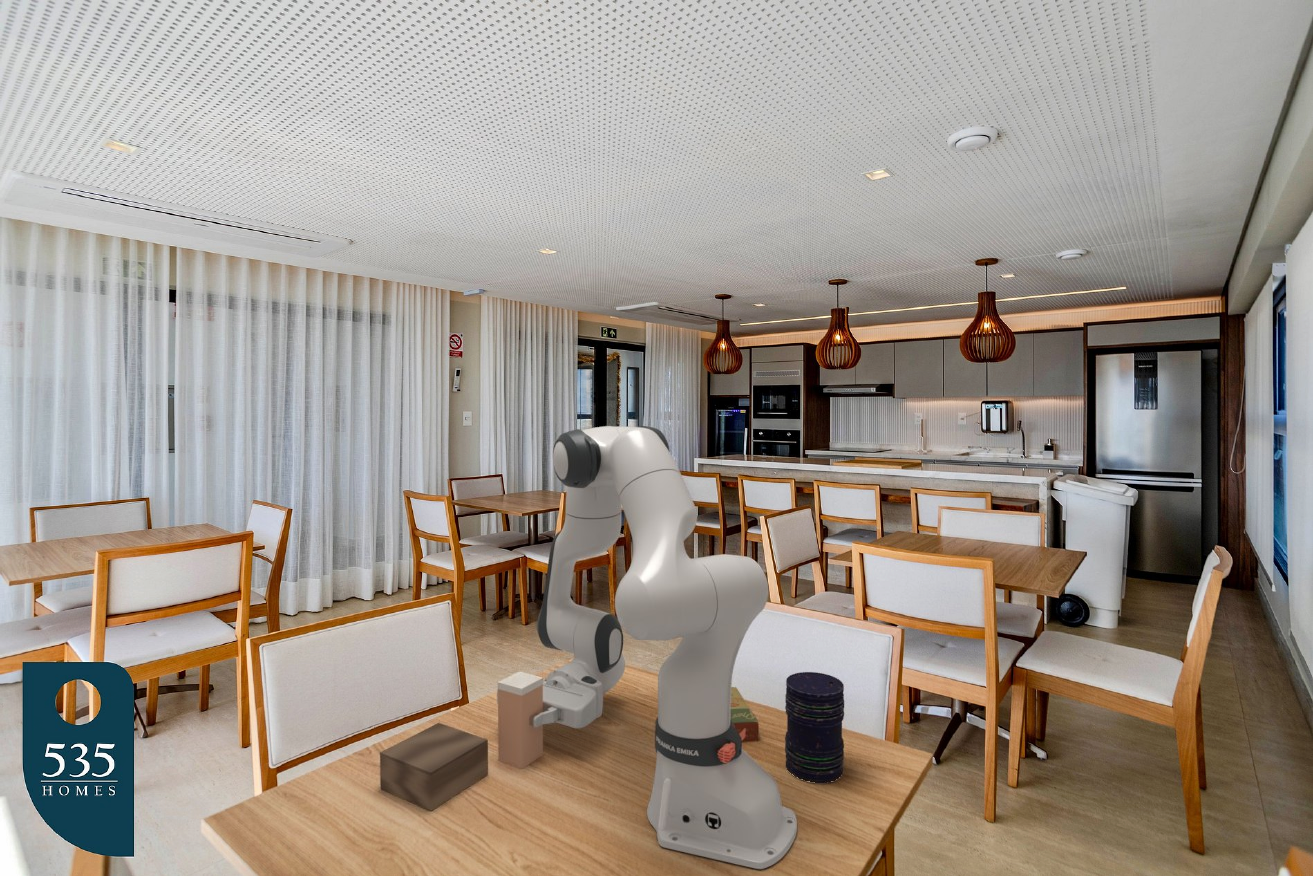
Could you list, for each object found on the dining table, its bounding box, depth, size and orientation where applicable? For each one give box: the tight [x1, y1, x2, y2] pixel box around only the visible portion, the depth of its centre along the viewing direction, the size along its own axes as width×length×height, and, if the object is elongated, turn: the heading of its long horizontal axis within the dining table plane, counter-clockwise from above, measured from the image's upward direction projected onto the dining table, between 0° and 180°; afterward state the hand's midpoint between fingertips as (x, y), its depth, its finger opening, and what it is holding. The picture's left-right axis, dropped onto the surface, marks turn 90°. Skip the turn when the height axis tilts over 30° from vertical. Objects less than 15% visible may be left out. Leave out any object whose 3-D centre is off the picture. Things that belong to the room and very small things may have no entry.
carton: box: [730, 686, 760, 742], centre depth 129 cm, size 8×16×4 cm, turn 8°
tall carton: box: [497, 671, 544, 770], centre depth 116 cm, size 6×6×14 cm
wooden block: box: [379, 722, 489, 812], centre depth 108 cm, size 12×12×6 cm
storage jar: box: [784, 671, 845, 783], centre depth 112 cm, size 10×10×15 cm
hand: (517, 717), depth 115 cm, fingers closed on tall carton, 5 cm apart
